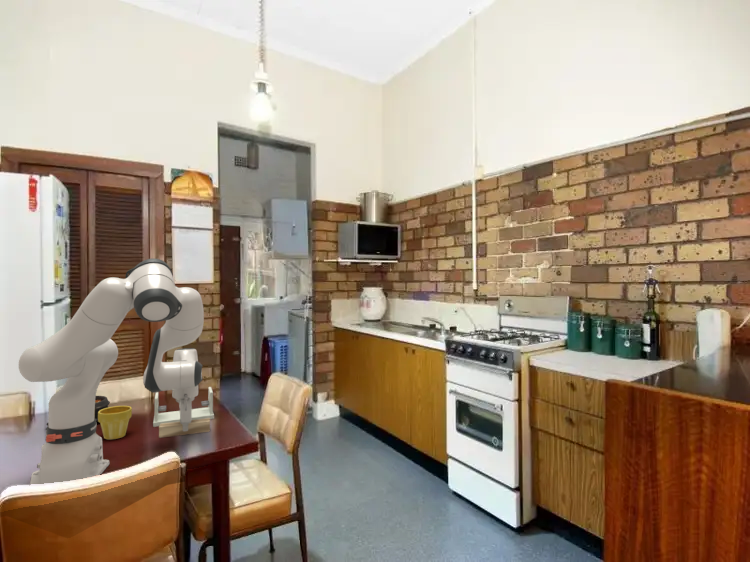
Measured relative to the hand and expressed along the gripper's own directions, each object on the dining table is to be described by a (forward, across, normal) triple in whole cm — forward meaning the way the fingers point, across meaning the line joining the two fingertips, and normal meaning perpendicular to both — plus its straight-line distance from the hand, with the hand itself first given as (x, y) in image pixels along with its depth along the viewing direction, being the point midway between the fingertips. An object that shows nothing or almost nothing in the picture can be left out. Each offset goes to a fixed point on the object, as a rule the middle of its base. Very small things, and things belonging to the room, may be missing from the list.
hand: (185, 428), depth 152 cm
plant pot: (+2, +7, +23) cm, 24 cm away
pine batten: (+2, 0, 0) cm, 2 cm away
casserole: (+2, +31, +36) cm, 48 cm away
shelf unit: (+2, +18, 0) cm, 18 cm away
